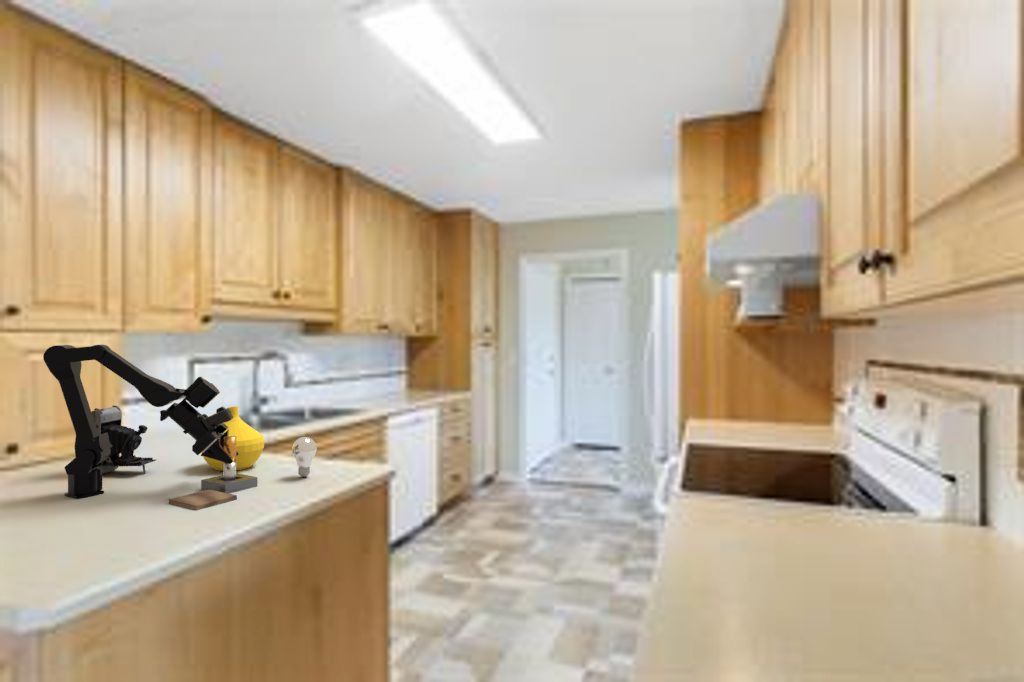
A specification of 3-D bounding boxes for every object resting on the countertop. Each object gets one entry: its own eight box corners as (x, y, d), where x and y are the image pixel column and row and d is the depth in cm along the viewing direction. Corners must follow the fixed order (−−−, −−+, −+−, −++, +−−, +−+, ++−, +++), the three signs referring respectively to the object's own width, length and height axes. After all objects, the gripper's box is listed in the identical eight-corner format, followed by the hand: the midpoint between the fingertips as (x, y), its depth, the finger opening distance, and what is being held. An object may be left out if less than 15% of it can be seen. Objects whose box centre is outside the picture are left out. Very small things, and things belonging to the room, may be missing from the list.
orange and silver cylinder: (228, 489, 164) (228, 438, 163) (220, 488, 165) (221, 437, 165) (238, 487, 166) (239, 436, 166) (230, 485, 168) (231, 435, 168)
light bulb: (320, 474, 182) (320, 435, 182) (310, 480, 175) (310, 439, 175) (298, 474, 183) (298, 434, 182) (287, 479, 176) (287, 438, 175)
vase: (193, 475, 178) (194, 411, 178) (207, 462, 196) (207, 404, 195) (260, 473, 183) (260, 410, 183) (267, 460, 201) (268, 403, 200)
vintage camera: (137, 480, 174) (141, 411, 174) (84, 476, 174) (88, 408, 174) (157, 472, 184) (161, 407, 184) (107, 469, 184) (111, 404, 184)
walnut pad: (196, 510, 145) (196, 505, 145) (168, 503, 150) (168, 499, 150) (236, 499, 155) (236, 495, 155) (209, 493, 160) (209, 489, 160)
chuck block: (225, 494, 159) (225, 484, 159) (201, 489, 164) (201, 479, 164) (257, 486, 168) (257, 477, 168) (233, 481, 173) (233, 472, 172)
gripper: (206, 402, 155) (252, 443, 158) (220, 395, 173) (261, 432, 176) (172, 434, 153) (219, 475, 156) (189, 423, 171) (231, 460, 174)
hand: (234, 458), depth 166 cm, fingers open, 9 cm apart
